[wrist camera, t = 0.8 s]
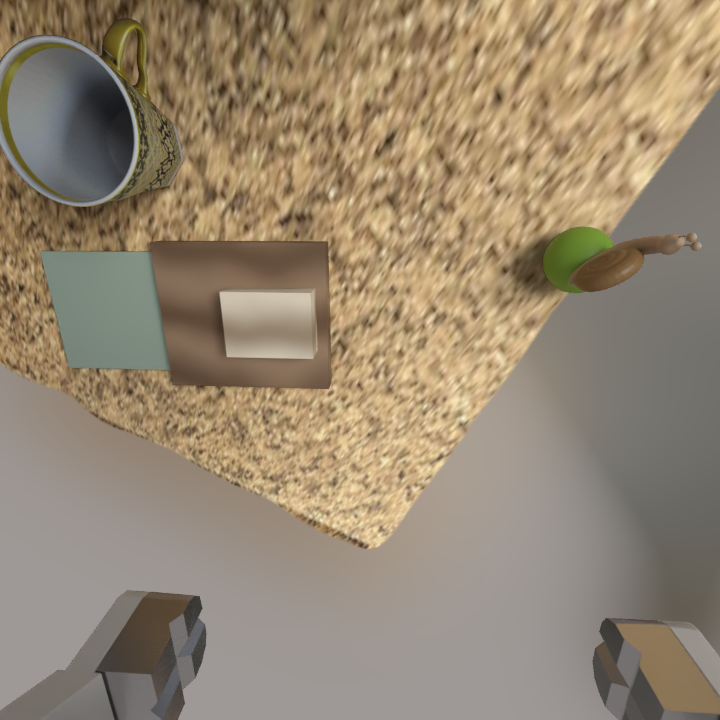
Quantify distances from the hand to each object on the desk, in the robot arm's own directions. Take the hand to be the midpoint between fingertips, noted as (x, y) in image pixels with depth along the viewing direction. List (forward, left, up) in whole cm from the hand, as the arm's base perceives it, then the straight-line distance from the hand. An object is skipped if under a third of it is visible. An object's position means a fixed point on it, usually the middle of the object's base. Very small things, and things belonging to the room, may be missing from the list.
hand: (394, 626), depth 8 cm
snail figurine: (-5, +16, -33) cm, 37 cm away
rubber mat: (+1, -28, -33) cm, 43 cm away
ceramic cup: (-15, -21, -33) cm, 42 cm away
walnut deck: (+1, -14, -33) cm, 36 cm away
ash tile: (+1, -11, -31) cm, 33 cm away
